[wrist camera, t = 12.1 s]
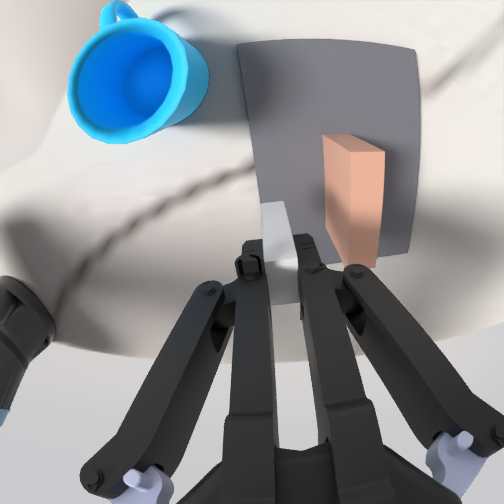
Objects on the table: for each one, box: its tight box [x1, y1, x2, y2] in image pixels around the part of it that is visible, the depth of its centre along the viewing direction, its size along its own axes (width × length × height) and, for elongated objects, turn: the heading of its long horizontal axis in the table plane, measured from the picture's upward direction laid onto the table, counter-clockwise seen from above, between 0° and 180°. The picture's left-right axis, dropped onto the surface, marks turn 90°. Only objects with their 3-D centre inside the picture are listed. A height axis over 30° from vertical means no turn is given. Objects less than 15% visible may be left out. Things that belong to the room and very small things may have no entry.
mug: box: [67, 0, 209, 144], centre depth 14 cm, size 12×8×8 cm
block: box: [322, 134, 385, 268], centre depth 20 cm, size 2×9×7 cm, turn 7°
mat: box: [237, 39, 420, 264], centre depth 22 cm, size 16×22×1 cm
